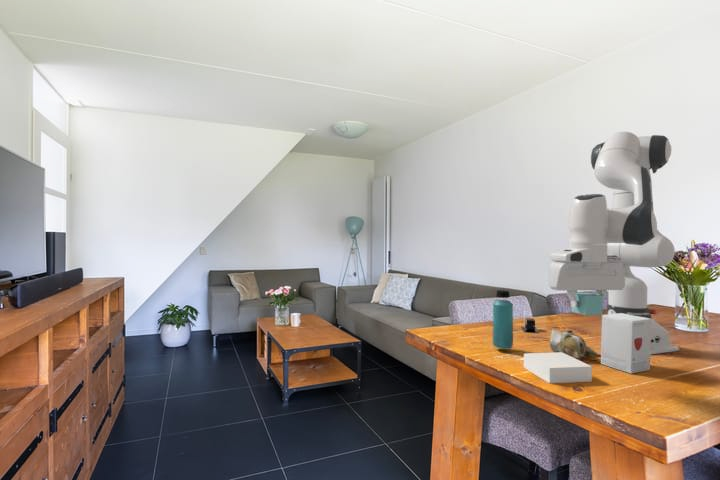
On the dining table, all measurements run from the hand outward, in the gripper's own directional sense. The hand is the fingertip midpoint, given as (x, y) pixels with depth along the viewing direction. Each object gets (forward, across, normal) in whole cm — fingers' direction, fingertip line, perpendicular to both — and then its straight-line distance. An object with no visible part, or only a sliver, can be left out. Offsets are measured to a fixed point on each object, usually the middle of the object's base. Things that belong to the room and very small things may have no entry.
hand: (586, 307), depth 100 cm
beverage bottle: (+20, +8, -27) cm, 34 cm away
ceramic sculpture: (+20, -10, -18) cm, 28 cm away
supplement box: (+20, -19, -7) cm, 28 cm away
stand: (+19, +5, -5) cm, 21 cm away
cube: (+2, 0, 0) cm, 2 cm away
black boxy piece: (+20, -18, -52) cm, 58 cm away
